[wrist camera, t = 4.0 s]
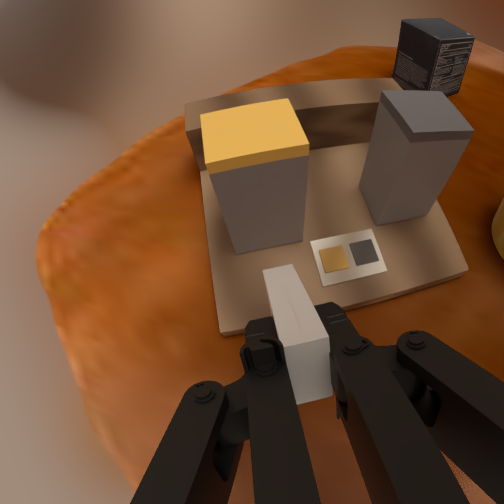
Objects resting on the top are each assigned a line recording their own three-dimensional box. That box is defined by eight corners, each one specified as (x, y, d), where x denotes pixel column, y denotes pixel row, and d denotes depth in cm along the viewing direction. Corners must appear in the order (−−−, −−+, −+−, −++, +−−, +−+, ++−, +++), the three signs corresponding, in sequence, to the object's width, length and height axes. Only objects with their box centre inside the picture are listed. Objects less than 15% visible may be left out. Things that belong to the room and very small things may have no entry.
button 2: (290, 198, 24) (288, 98, 16) (302, 241, 22) (309, 143, 14) (228, 210, 24) (200, 114, 16) (236, 254, 23) (205, 163, 14)
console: (379, 121, 30) (389, 75, 24) (460, 276, 21) (500, 240, 15) (200, 150, 30) (184, 101, 24) (224, 336, 22) (200, 314, 16)
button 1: (407, 178, 24) (441, 91, 15) (426, 215, 22) (474, 130, 14) (358, 185, 24) (381, 90, 15) (375, 225, 22) (413, 132, 14)
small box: (427, 70, 35) (440, 16, 26) (459, 92, 32) (477, 37, 23) (388, 81, 34) (399, 16, 24) (424, 107, 31) (443, 39, 22)
